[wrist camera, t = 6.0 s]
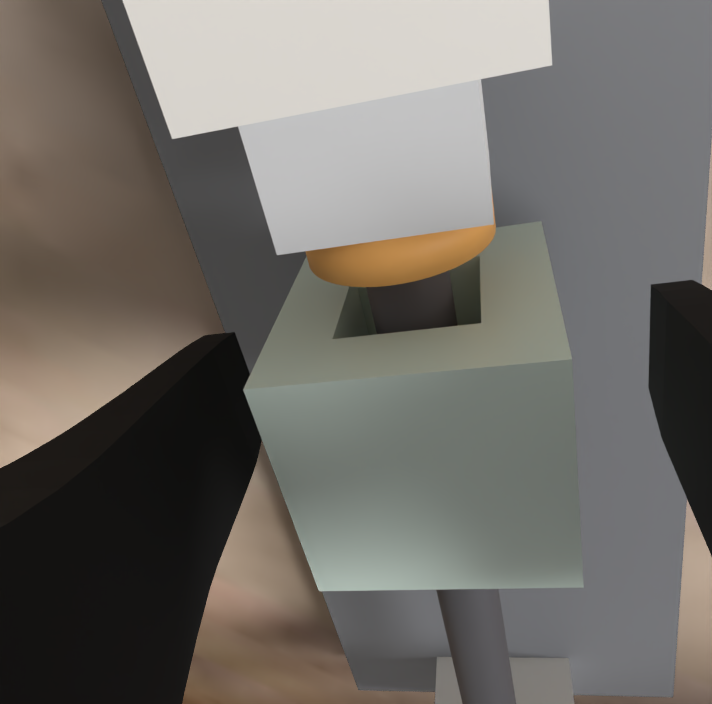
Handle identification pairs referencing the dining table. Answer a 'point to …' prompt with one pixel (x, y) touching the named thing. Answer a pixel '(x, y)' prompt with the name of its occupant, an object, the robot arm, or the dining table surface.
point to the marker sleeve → (428, 431)
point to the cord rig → (462, 260)
